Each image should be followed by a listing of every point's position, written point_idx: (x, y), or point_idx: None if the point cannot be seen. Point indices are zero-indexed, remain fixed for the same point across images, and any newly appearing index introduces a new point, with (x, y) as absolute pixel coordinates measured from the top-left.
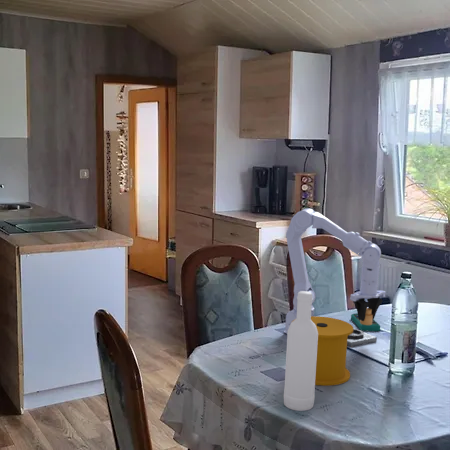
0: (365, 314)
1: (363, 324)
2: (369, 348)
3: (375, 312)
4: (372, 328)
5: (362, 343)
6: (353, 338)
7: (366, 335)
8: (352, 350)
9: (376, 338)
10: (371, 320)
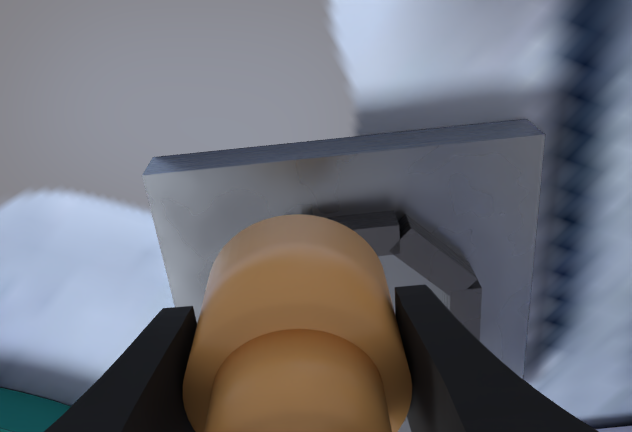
0: (376, 371)
1: (379, 261)
2: (372, 4)
3: (122, 377)
4: (11, 410)
5: (360, 139)
6: (421, 227)
7: None
8: (596, 21)
9: (148, 170)
10: (264, 255)
